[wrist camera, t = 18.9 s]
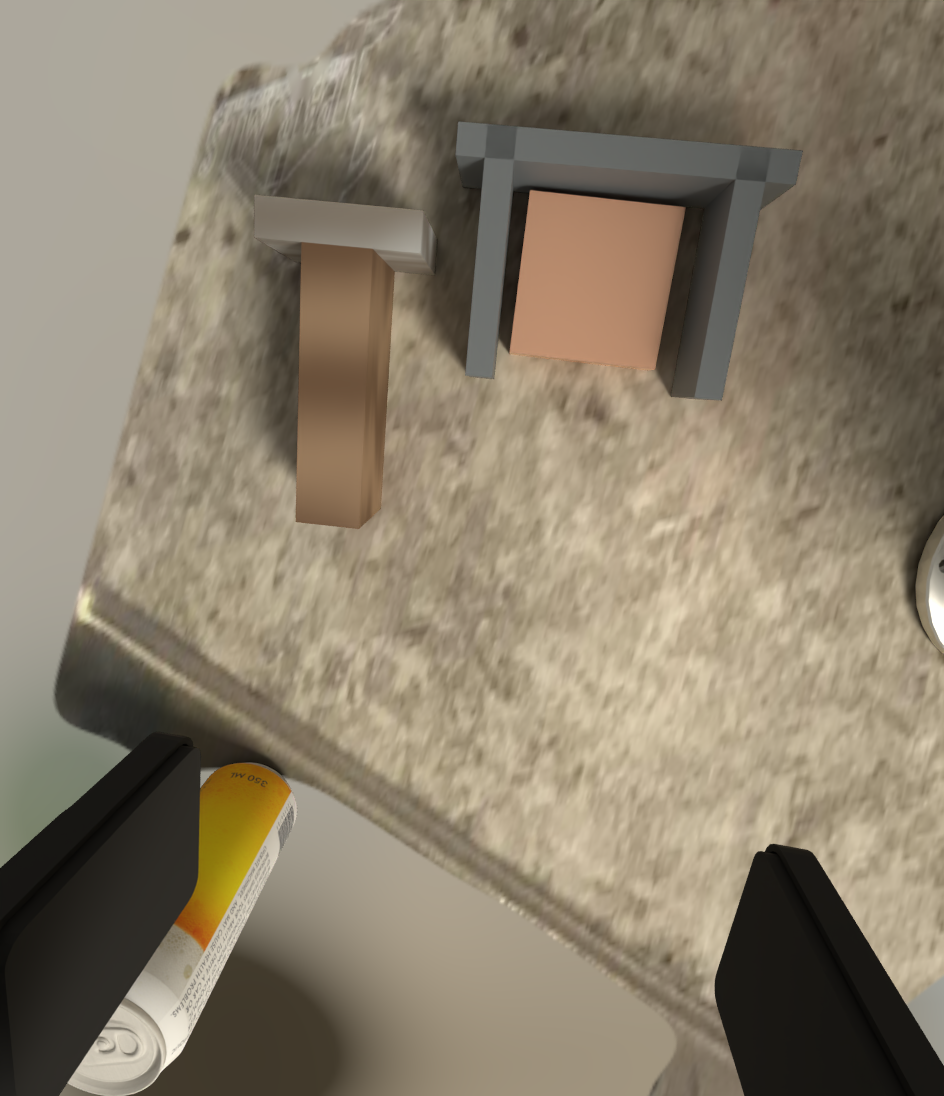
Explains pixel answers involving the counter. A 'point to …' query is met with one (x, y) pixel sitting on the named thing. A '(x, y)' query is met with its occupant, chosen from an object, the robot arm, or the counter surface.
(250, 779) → the beer can
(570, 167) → the bay
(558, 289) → the tile
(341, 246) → the scraper
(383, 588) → the counter surface
